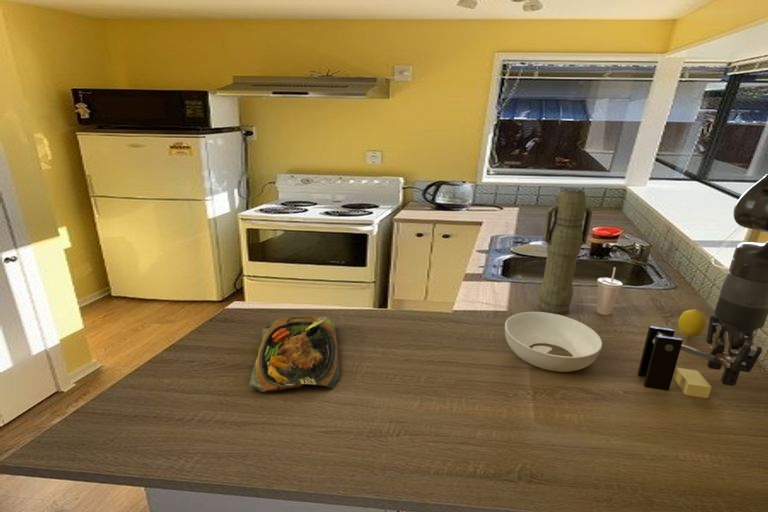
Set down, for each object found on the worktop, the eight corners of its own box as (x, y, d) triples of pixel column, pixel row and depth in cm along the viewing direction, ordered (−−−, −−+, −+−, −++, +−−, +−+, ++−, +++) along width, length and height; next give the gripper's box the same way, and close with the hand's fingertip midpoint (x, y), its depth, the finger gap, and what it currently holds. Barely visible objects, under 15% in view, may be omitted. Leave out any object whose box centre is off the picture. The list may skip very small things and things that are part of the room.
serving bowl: (499, 373, 92) (503, 345, 90) (503, 330, 111) (506, 306, 109) (604, 393, 87) (611, 364, 84) (589, 344, 106) (594, 319, 103)
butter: (695, 382, 91) (700, 367, 90) (715, 409, 83) (721, 392, 82) (664, 378, 92) (668, 363, 91) (681, 403, 84) (686, 387, 83)
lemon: (699, 335, 111) (707, 308, 109) (701, 344, 107) (710, 316, 104) (674, 330, 114) (681, 303, 111) (675, 338, 109) (683, 310, 107)
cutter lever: (719, 362, 87) (725, 352, 86) (732, 375, 82) (739, 365, 81) (649, 337, 88) (655, 327, 88) (658, 349, 84) (664, 339, 83)
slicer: (664, 378, 92) (678, 325, 88) (681, 403, 84) (698, 346, 80) (624, 372, 94) (636, 320, 90) (637, 396, 86) (651, 340, 82)
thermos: (527, 301, 129) (544, 187, 118) (564, 300, 130) (584, 187, 119) (541, 314, 121) (560, 192, 110) (580, 313, 122) (603, 192, 111)
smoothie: (609, 319, 119) (619, 272, 115) (587, 311, 124) (596, 266, 119) (619, 313, 123) (629, 268, 119) (597, 305, 128) (606, 261, 123)
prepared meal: (341, 373, 84) (247, 378, 81) (340, 388, 85) (248, 393, 82) (334, 315, 111) (263, 317, 108) (334, 327, 112) (264, 329, 109)
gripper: (793, 317, 72) (763, 401, 78) (746, 286, 86) (723, 360, 91) (742, 311, 74) (716, 394, 79) (704, 282, 87) (684, 354, 92)
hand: (720, 375), depth 85 cm, fingers closed on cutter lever, 5 cm apart
